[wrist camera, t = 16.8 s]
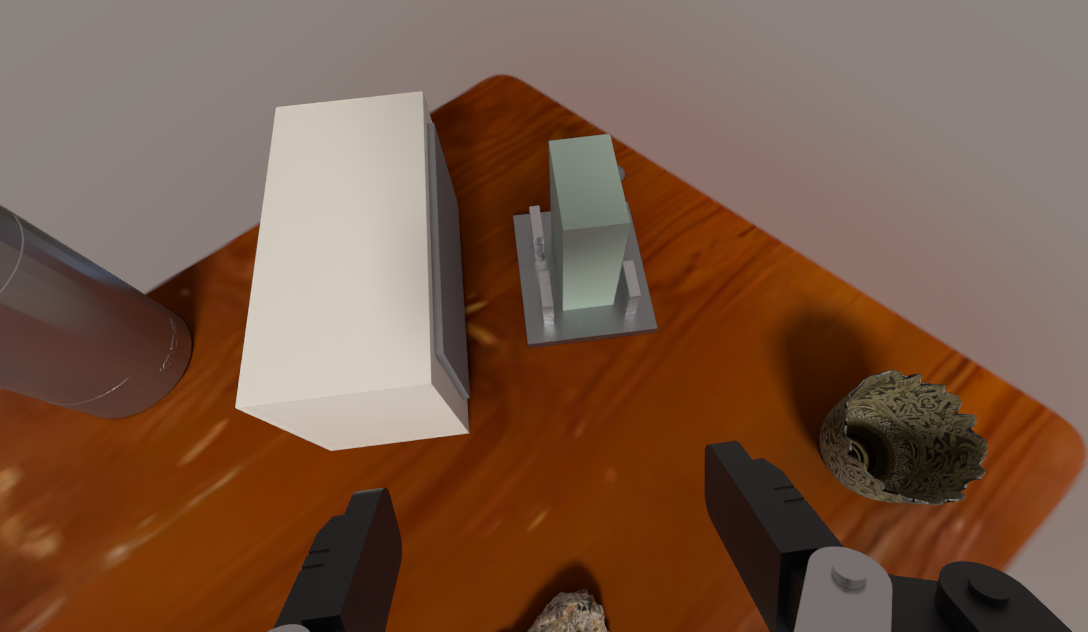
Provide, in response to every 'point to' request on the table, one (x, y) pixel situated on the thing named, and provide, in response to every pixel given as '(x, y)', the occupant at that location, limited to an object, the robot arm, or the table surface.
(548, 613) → the mineral rock
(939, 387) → the cup
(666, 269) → the table surface
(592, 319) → the grey holder base
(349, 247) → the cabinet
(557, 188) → the pale green rectangular box
